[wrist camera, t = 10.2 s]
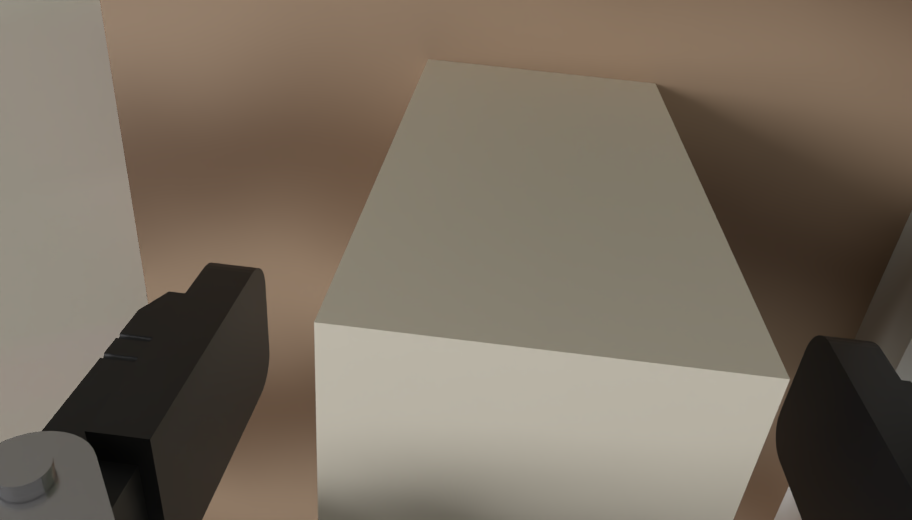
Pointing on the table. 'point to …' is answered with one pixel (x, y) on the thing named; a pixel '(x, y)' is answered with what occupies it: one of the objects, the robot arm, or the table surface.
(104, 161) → the table surface
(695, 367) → the cream carton
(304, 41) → the walnut shelf
